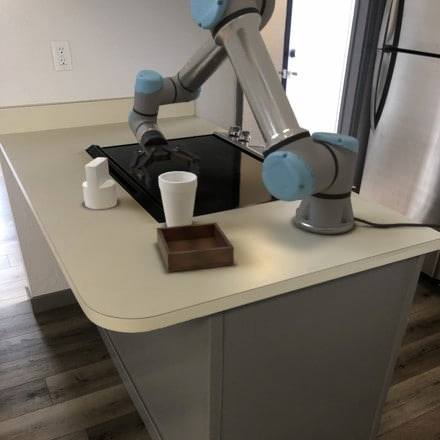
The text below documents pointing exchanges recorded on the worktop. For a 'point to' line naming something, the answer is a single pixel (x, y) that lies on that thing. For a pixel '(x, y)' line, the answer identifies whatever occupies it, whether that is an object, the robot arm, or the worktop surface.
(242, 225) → the worktop surface
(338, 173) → the robot arm
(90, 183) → the base with upright slab
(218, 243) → the caddy
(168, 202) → the foam cup
